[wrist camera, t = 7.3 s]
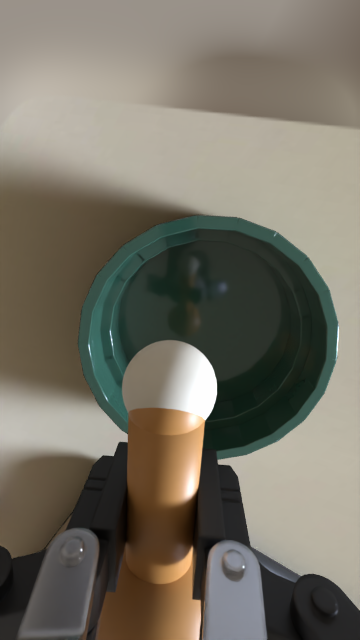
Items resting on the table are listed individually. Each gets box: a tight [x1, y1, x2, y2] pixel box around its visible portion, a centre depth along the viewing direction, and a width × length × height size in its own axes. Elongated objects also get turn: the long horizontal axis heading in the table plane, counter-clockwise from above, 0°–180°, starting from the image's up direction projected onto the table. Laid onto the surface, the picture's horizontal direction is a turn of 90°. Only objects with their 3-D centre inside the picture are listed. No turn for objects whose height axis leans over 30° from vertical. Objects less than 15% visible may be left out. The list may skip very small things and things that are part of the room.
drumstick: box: [97, 340, 217, 640], centre depth 10 cm, size 12×5×5 cm, turn 176°
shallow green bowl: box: [78, 215, 339, 460], centre depth 24 cm, size 18×18×6 cm
